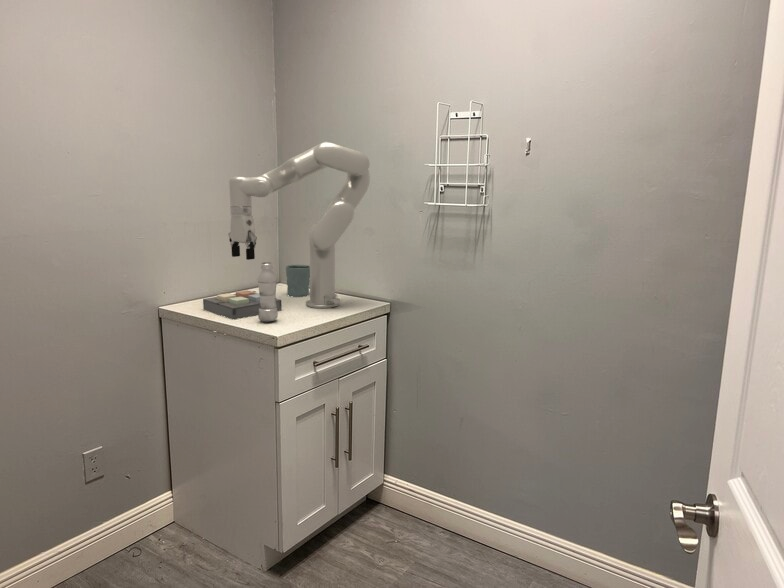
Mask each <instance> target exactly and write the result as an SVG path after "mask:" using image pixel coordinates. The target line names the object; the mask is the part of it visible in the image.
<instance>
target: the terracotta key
mask: <svg viewBox="0 0 784 588" xmlns="http://www.w3.org/2000/svg"><path fill="white" fill-rule="evenodd" d="M255 293H256V292H255V291H251V290H248V289H246V290H243V291H242V290H241V291H236V292H235V294H236V297H244V298H248V295H254V294H255Z"/></svg>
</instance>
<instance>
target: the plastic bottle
mask: <svg viewBox="0 0 784 588" xmlns="http://www.w3.org/2000/svg"><path fill="white" fill-rule="evenodd" d="M260 265H261V266H260V269H261V270H260V272H259V274H258V276H257V279H256V280H257V286H258V287H257V288H258V292H259V293H258V294H260V296H259V297H260V301H259V310H258V315H257V317H258V319H259V321H260V322H264V323H271V322H275V321H277V318H278V315H279V314H278V313H279V311H277V307H276V299H277V295H276V293H277V285H278V284H277V283H278V277H277V275H276V273H275V271H274V270H273V269H274V267H273V262H271V261H269V262H268V261H267V262H264V261H263V262H261V264H260Z"/></svg>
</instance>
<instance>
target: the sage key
mask: <svg viewBox="0 0 784 588" xmlns="http://www.w3.org/2000/svg"><path fill="white" fill-rule="evenodd" d="M229 303H230V304H233V305H242V304H247V303H249V299H248V298H244V297H235V298H229Z"/></svg>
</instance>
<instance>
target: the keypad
mask: <svg viewBox="0 0 784 588" xmlns="http://www.w3.org/2000/svg"><path fill="white" fill-rule="evenodd" d="M232 294H233V295H236V293H232ZM255 294H258V293H256V292H255ZM202 305H203V307H202V308H203V311H206V312H209V313H213V314H215V315H219V316H221V315H222V316H221V317H224V316H225V318H227V317H228V318H227V319H230V318H232V319H231V320H233V319H234V320H238V319H237V318H240V319H244V318H243V317H245V318H249V317H248V316H250V317H254V315H255V316H258V310H259V302H254V301H250V300H249V303H247V304H242V305H233V304H230V303H229V301H225V302H223V301H220V300H217V296H214V297H208V298H203V299H202ZM276 307H277V311H278V312H281V311H282V310H283V309H282V307H283V306H282V299H281V298H276Z"/></svg>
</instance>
